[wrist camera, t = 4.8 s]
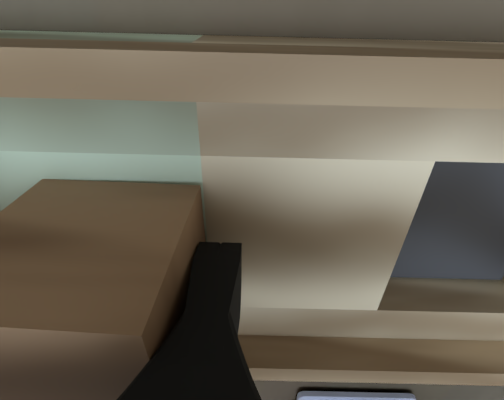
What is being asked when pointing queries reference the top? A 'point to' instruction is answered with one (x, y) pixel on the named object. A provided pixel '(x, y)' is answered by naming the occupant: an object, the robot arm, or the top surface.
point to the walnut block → (91, 283)
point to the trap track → (298, 181)
